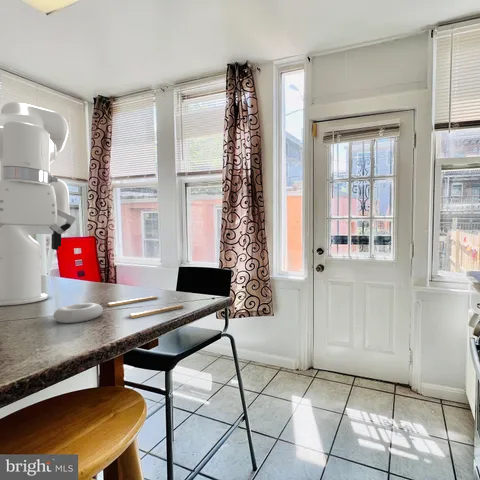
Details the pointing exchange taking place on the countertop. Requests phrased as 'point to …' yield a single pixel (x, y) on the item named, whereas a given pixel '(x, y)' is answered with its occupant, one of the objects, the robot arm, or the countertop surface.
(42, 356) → the countertop surface
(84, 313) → the donut
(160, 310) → the strips
